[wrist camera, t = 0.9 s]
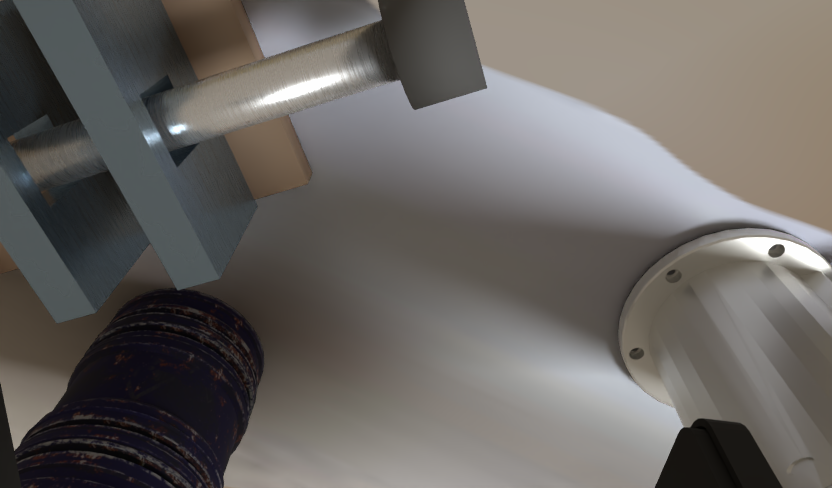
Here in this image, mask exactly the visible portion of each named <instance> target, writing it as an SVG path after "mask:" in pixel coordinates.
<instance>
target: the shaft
mask: <svg viewBox="0 0 832 488" xmlns="http://www.w3.org/2000/svg"><path fill="white" fill-rule="evenodd" d="M378 2H379V8H380V12H381V17H382V20H380V21H377V22H374V23H371V24H368V25H365V26H362V27H359V28H356V29H353V30H350V31H347V32H344V33H341V34H338V35H335V36H331V37H328V38H325V39H322V40H319V41H316V42H313V43H310V44H307V45H304V46H301V47H298V48H295V49H292V50H289V51H286V52H283V53H279V54H276V55H273V56H270V57H267V58H264V59H261V60H258V61H255V62H252V63H249V64H246V65H243V66H240V67H237V68H234V69H231V70H227V71H224V72H221V73H218V74H215V75H212V76H209V77H206V78H203V79H200V80H197V81H194V82H191V83H188V84H185V85H182V86H178V87H175V88H172V89H169V90H166V91H163V92H160V93H157V94H154V95H151V96H148V97H145V98H142V101H143V103H144V105H145V107H146V109H147V111H148V113H149V115H150V117H151V119H152V121H153V123H154V124H155V126H156V128H157V130H158V132H159V134H160V136H161V138H162V140H163V142H164V144H165V146H166V148H167V150H168V152H170V151H173V150H176V149H180V148H183V147H186V146H189V145H192V144H196V143H199V142H202V141H205V140H209V139H212V138H215V137H218V136H221V135H225V134H228V133H231V132H234V131H238V130H241V129H244V128H247V127H250V126H254V125H257V124H260V123H263V122H266V121H270V120H273V119H276V118H279V117H283V116H286V115H289V114H292V113H295V112H299V111H302V110H305V109H308V108H312V107H315V106H318V105H321V104H324V103H328V102H331V101H334V100H337V99H340V98H344V97H347V96H350V95H353V94H357V93H360V92H363V91H366V90H369V89H373V88H376V87H379V86H382V85H386V84H389V83H392V82H395V81H398V80H401V83H402V85H403V88H404V90H405V93H406V95H407V98H408V100H409V102H410V104H411V106H412V107H413V109H414V110H416V109H419V108H423V107H426V106H429V105H433V104H436V103H439V102H443V101H446V100H449V99H452V98H456V97H459V96H462V95H466V94H469V93H472V92H476V91H479V90H482V89H486V88H487V86H486V82H485V78H484V74H483V70H482V66H481V63H480V58H479V55H478V51H477V47H476V43H475V40H474V36H473V32H472V28H471V25H470V21H469V17H468V13H467V10H466V6H465V2H464V0H378ZM10 144H11V146H12V147H13V149H14V150H15V152H16V153H17V155H18V157H19V158H20V160H21V161H22V163H23V165H24V166H25V168H26V169H27V171H28V172H29V174H30V176H31V177H32V179H33V180H34V182H35V184H36V185H37V187H38V188H39V190H40V191H44V190H48V189H51V188H54V187H57V186H61V185H64V184H67V183H70V182H73V181H77V180H80V179H83V178H86V177H89V176H93V175H96V174H99V173H102V172H106V171H109V169H108V167H107V165H106V164H105V162H104V160H103V158H102V157H101V155H100V153H99V151H98V150H97V148H96V146H95V144H94V143H93V141H92V139H91V137H90V136H89V134H88V132H87V130H86V129H85V127H84V125H83V123H82V121H81V120H80V119H78V120H74V121H71V122H68V123H65V124H62V125H59V126H56V127H53V128H50V129H47V130H44V131H41V132H38V133H35V134H32V135H29V136H25V137H22V138H19V139H16V140H13V141H10Z"/></svg>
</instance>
